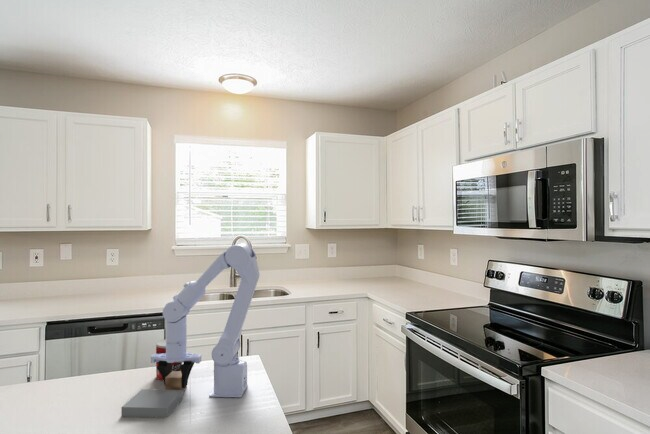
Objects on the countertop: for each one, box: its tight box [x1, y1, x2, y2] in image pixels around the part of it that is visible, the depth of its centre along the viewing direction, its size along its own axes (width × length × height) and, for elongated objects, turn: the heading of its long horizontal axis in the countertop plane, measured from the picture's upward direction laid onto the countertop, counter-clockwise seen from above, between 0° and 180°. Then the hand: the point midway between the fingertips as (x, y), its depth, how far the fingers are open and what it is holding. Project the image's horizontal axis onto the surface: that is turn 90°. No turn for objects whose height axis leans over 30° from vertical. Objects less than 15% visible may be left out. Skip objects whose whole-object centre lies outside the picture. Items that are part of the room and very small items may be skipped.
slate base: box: [121, 388, 184, 419], centre depth 101 cm, size 12×10×2 cm
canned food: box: [155, 338, 183, 381], centre depth 121 cm, size 8×8×11 cm
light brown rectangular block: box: [164, 371, 188, 392], centre depth 111 cm, size 4×4×5 cm
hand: (176, 386), depth 111 cm, fingers closed on light brown rectangular block, 4 cm apart
